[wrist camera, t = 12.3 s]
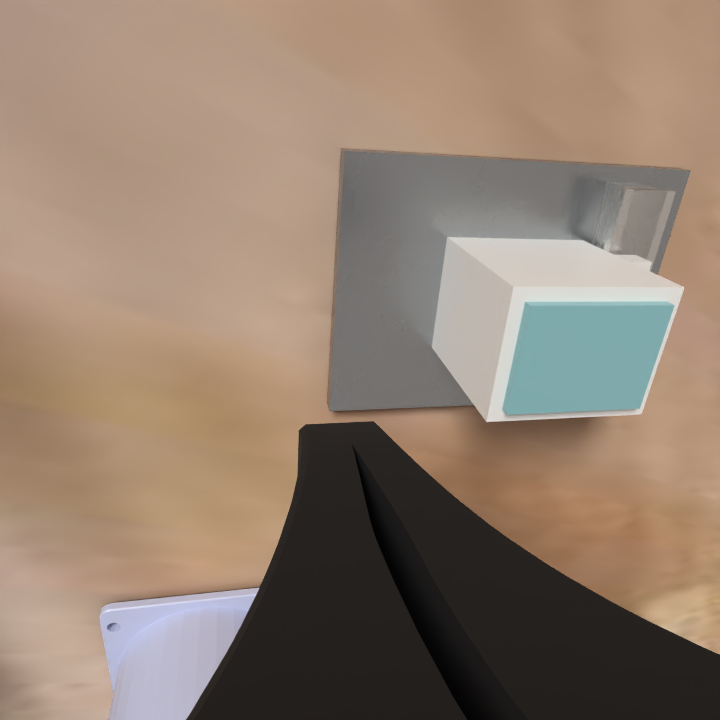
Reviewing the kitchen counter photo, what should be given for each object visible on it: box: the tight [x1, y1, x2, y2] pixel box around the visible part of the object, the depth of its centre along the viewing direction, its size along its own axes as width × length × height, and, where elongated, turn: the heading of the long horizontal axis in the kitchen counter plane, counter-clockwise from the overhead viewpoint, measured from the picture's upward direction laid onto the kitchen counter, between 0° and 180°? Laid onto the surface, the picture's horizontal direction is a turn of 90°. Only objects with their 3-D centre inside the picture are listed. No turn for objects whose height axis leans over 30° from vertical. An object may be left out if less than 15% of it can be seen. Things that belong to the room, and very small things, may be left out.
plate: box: [327, 148, 690, 411], centre depth 20 cm, size 9×12×1 cm
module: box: [432, 237, 684, 422], centre depth 18 cm, size 4×6×5 cm
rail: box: [590, 182, 676, 272], centre depth 20 cm, size 8×2×2 cm, turn 176°
